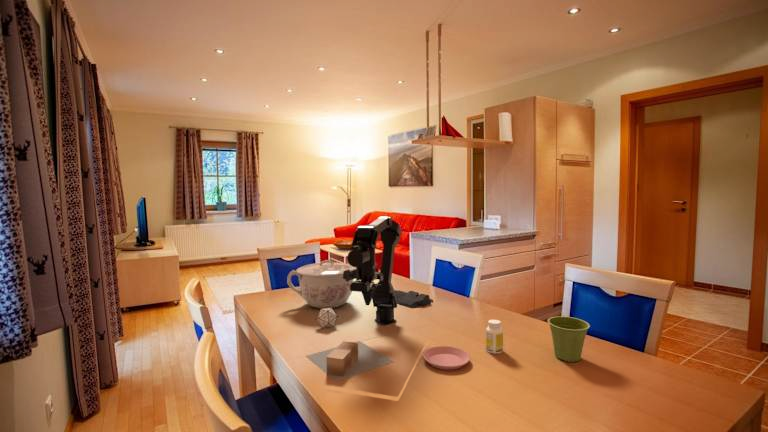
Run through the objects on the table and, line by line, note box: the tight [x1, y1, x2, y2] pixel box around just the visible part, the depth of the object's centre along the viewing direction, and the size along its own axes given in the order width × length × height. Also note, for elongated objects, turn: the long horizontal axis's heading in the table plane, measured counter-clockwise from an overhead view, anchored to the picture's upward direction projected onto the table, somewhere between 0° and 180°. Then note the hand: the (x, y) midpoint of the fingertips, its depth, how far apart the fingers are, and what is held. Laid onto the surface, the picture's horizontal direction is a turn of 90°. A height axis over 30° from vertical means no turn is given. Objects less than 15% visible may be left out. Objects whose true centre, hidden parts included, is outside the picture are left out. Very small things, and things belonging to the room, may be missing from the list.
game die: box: [314, 306, 340, 330], centre depth 149 cm, size 9×8×10 cm
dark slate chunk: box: [394, 289, 434, 309], centre depth 183 cm, size 15×22×5 cm
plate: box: [422, 345, 471, 371], centre depth 119 cm, size 14×14×2 cm
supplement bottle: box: [485, 319, 504, 355], centre depth 126 cm, size 5×5×10 cm
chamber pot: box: [286, 259, 356, 309], centre depth 178 cm, size 28×28×21 cm
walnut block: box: [326, 340, 358, 376], centre depth 115 cm, size 5×5×12 cm
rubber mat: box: [305, 340, 395, 382], centre depth 120 cm, size 20×20×1 cm
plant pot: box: [547, 315, 591, 363], centre depth 121 cm, size 12×12×11 cm
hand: (367, 305), depth 137 cm, fingers closed
